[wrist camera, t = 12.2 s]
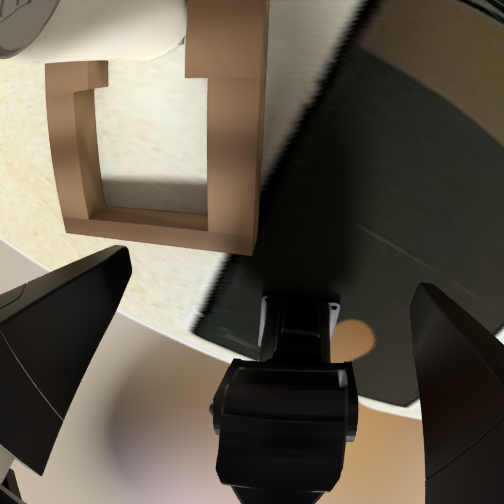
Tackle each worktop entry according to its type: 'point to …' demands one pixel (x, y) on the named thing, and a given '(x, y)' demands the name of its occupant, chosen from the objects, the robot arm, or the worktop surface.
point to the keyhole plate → (218, 136)
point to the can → (89, 29)
